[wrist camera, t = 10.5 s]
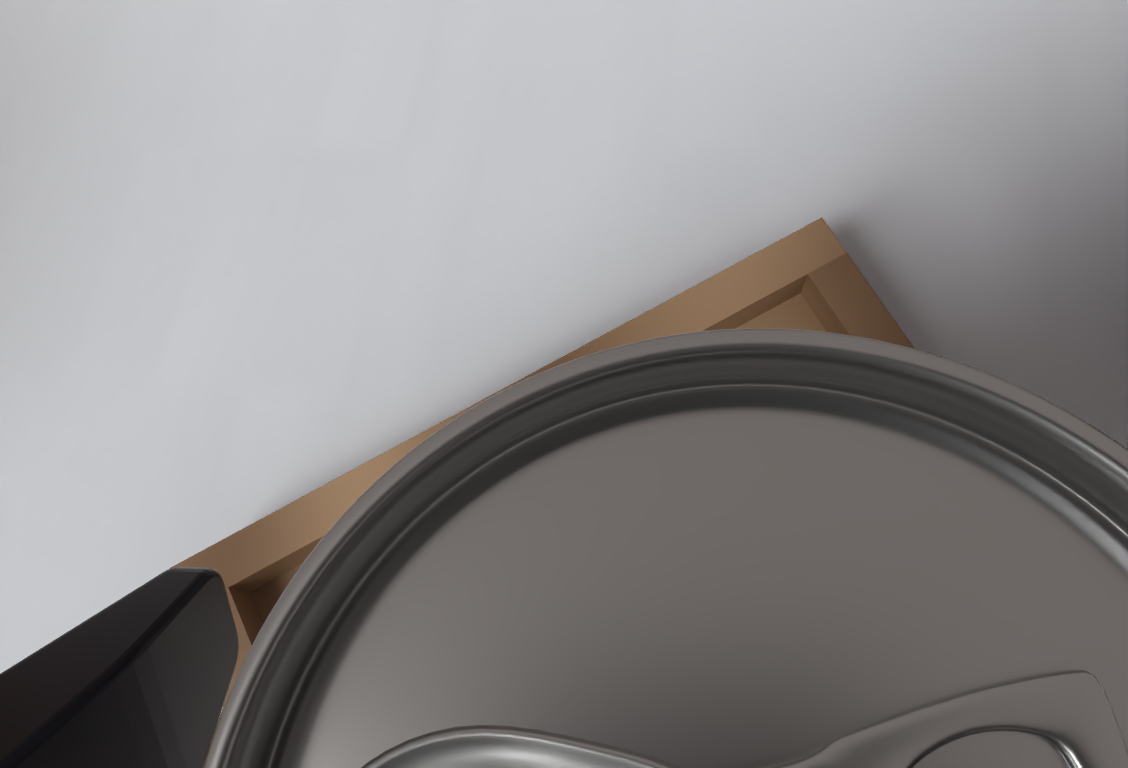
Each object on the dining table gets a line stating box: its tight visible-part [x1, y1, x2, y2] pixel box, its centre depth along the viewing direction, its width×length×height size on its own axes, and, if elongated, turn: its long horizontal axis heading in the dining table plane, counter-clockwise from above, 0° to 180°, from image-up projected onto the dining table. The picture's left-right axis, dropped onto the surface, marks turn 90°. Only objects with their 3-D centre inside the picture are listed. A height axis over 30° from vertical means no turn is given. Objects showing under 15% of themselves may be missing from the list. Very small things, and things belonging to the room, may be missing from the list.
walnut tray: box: [170, 218, 914, 707], centre depth 16 cm, size 13×13×2 cm
